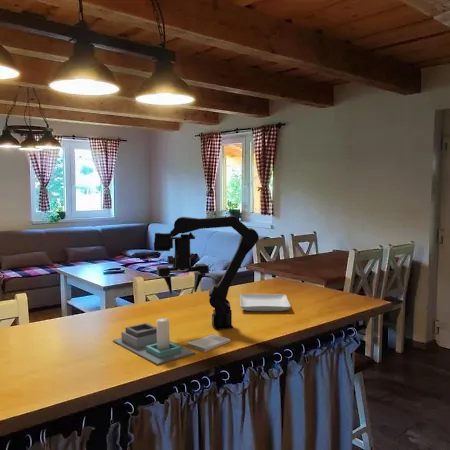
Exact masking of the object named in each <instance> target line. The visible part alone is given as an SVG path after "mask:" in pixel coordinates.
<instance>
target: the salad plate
mask: <svg viewBox="0 0 450 450" xmlns="http://www.w3.org/2000/svg"><path fill="white" fill-rule="evenodd" d="M239 302H240V303H239V307H240V308H241V309H242V310H243V311H246V312H284V311H287V310H290V308H291V307H292V305H291V304H290V301H289V300H288V297H287V295H286V294H284V293H283V294H280V293H279V294H278V293H240V294H239Z"/></svg>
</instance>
